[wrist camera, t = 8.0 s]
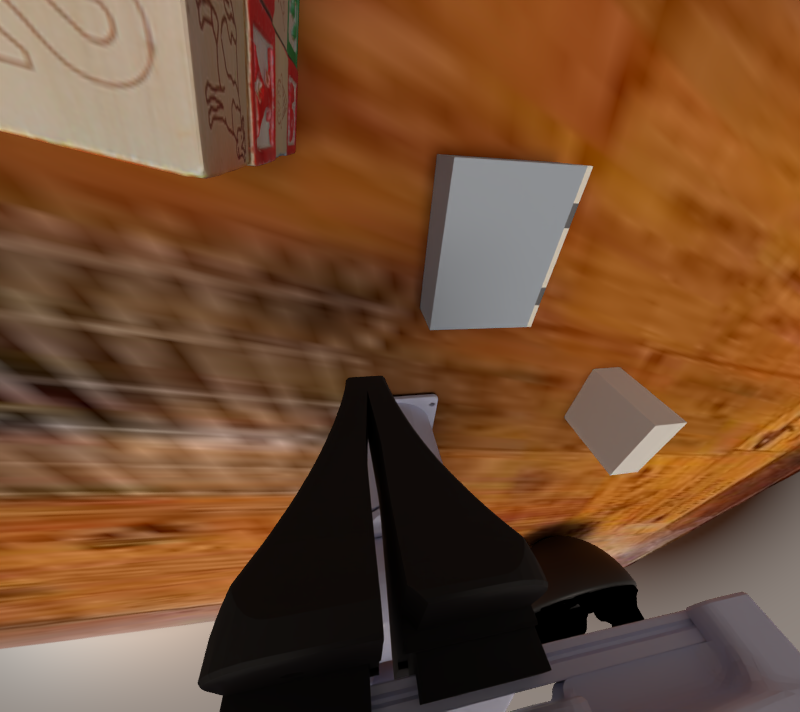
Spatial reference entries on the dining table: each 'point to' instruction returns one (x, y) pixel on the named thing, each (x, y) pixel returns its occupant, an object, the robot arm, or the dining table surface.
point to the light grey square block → (621, 420)
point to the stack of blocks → (153, 80)
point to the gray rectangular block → (495, 238)
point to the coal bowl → (581, 588)
